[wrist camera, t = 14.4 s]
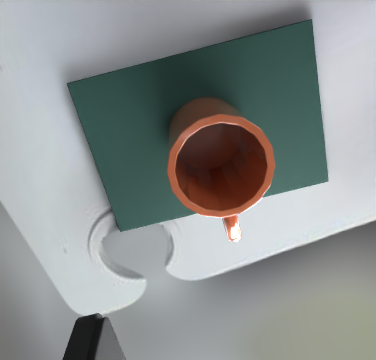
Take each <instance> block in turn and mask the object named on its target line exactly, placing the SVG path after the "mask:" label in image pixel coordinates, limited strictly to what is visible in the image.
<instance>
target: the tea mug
mask: <svg viewBox="0 0 376 360" xmlns="http://www.w3.org/2000/svg"><path fill="white" fill-rule="evenodd" d="M274 169H275V160H274V154H273V148H272V145H271V143H270V142H269V140H268V139H267V137H266V136H265V134H264V133H263V131H262V130H261V129H260V128H259V127H258V126H257V125H256V124H255V123H253V122H252V121H251V120H250V119H249V118H247V117H246V116H245V115H244V114H243V113H241V112H240V111H239V110H238V109H236V108H235V107H234V106H232V105H231V104H229V103H228V102H226V101H224V100H222V99H219V98H215V97H201V98H197V99H193V100H191V101H189V102H187V103H186V104H184V105H183V106H182V107H181V108H180V109H179V110H178V111H177V112H176V114H175V115H174V117H173V119H172V121H171V123H170V126H169V133H168V145H167V175H168V179H169V182H170V186H171V189H172V191H173V193H174V194H175V195H176V197H177V198H178V199H179V200H180V201H181V203H182V204H183V205H184V206H185V207H187V208H189V209H191V210H192V211H194V212H196V213H198V214H200V215H203V216H210V217H219V218H222V220H223V224H224V227H225V230H226V233H227V236H228V239H229V240H230V241H233V242H236V241H238V240H239V239H240V238H241V231H240V226H239V222H238V217H237V214H240V213H242V212H244V211H245V210H247V209H248V208H250V207H251V206H253V205H255V204H256V203H258V201H259V200H260V199H261V198H262V196H263V195H264V194H265V192H266V191H267V189H268V188H269V187H270V185H271V181H272V177H273V173H274Z"/></svg>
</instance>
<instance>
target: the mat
mask: <svg viewBox="0 0 376 360" xmlns="http://www.w3.org/2000/svg"><path fill="white" fill-rule="evenodd" d="M67 86H68V88H69V91H70V94H71V97H72V99H73V102H74V105H75V108H76V110H77V113H78V116H79V119H80V121H81V124H82V127H83V130H84V132H85V135H86V138H87V141H88V144H89V146H90V149H91V152H92V155H93V157H94V160H95V163H96V166H97V168H98V171H99V174H100V177H101V179H102V182H103V185H104V188H105V191H106V193H107V196H108V199H109V202H110V204H111V207H112V210H113V213H114V215H115V218H116V221H117V224H118V226H119V229H120V232H122V231H126V230H131V229H135V228H139V227H143V226H147V225H151V224H155V223H159V222H164V221H168V220H172V219H176V218H180V217H184V216H188V215H192V214H196V212H194V211H192V210H191V209H189V208H187V207H185V206H184V205H183V204H182V203H181V201H180V200H179V199H178V198H177V197H176V195H175V194H174V193H173V191H172V189H171V186H170V182H169V179H168V175H167V145H168V133H169V126H170V123H171V121H172V119H173V117H174V115H175V114H176V112H177V111H178V110H179V109H180V108H181V107H182V106H183V105H184V104H186V103H187V102H189V101H191V100H193V99H197V98H201V97H215V98H219V99H222V100H224V101H226V102H228V103H229V104H231V105H232V106H234V107H235V108H236V109H238V110H239V111H240V112H241V113H243V114H244V115H245V116H246V117H247V118H249V119H250V120H251V121H252V122H253V123H255V124H256V125H257V126H258V127H259V128H260V129H261V130H262V131H263V133H264V134H265V136H266V137H267V139H268V140H269V142H270V143H271V145H272V148H273V154H274V160H275V169H274V173H273V177H272V181H271V185H270V187H269V188H268V189H267V191H266V192H265V194H264V195H263V196H262V197H266V196H270V195H274V194H279V193H283V192H287V191H291V190H295V189H299V188H303V187H307V186H311V185H316V184H320V183H324V182H328V172H327V162H326V153H325V143H324V133H323V123H322V114H321V104H320V94H319V84H318V75H317V65H316V55H315V45H314V36H313V26H312V19H310V20H306V21H302V22H299V23H295V24H291V25H287V26H283V27H280V28H276V29H272V30H268V31H264V32H261V33H257V34H253V35H249V36H245V37H242V38H238V39H234V40H230V41H226V42H223V43H219V44H215V45H211V46H207V47H204V48H200V49H196V50H192V51H188V52H184V53H181V54H177V55H173V56H169V57H165V58H162V59H158V60H154V61H150V62H146V63H143V64H139V65H135V66H131V67H127V68H124V69H120V70H116V71H112V72H108V73H105V74H101V75H97V76H93V77H89V78H86V79H82V80H78V81H74V82H70V83H67Z"/></svg>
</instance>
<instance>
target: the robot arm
mask: <svg viewBox="0 0 376 360" xmlns="http://www.w3.org/2000/svg"><path fill="white" fill-rule="evenodd" d="M63 360H126V358H125V356H124V353H123V351H122V348H121V346H120V344H119V341H118V339H117V337H116V334H115V332H114V330H113V327H112V325H111V322H110V320H109V318H108V317H104V318H102V316H101V314H99V313H97V314H92V315H88V316H84V317H80V318H78V319H77V320H76V322H75V325H74V328H73V331H72V334H71V336H70V340H69V342H68V346H67V348H66V351H65V354H64V357H63Z"/></svg>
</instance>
